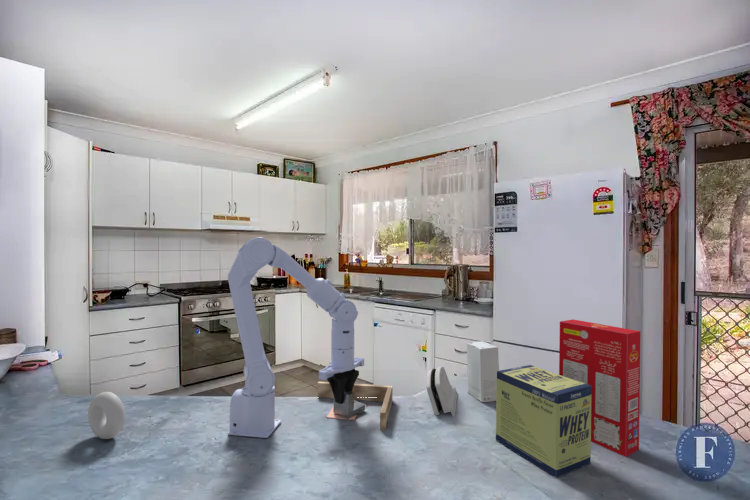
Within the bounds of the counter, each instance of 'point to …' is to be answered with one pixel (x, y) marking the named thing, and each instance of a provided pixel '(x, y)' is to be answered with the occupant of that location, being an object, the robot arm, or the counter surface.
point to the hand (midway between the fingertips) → (342, 400)
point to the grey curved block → (441, 391)
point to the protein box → (544, 418)
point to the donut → (106, 415)
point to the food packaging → (605, 379)
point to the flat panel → (336, 416)
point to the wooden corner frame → (365, 390)
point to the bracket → (348, 406)
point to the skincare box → (482, 370)
